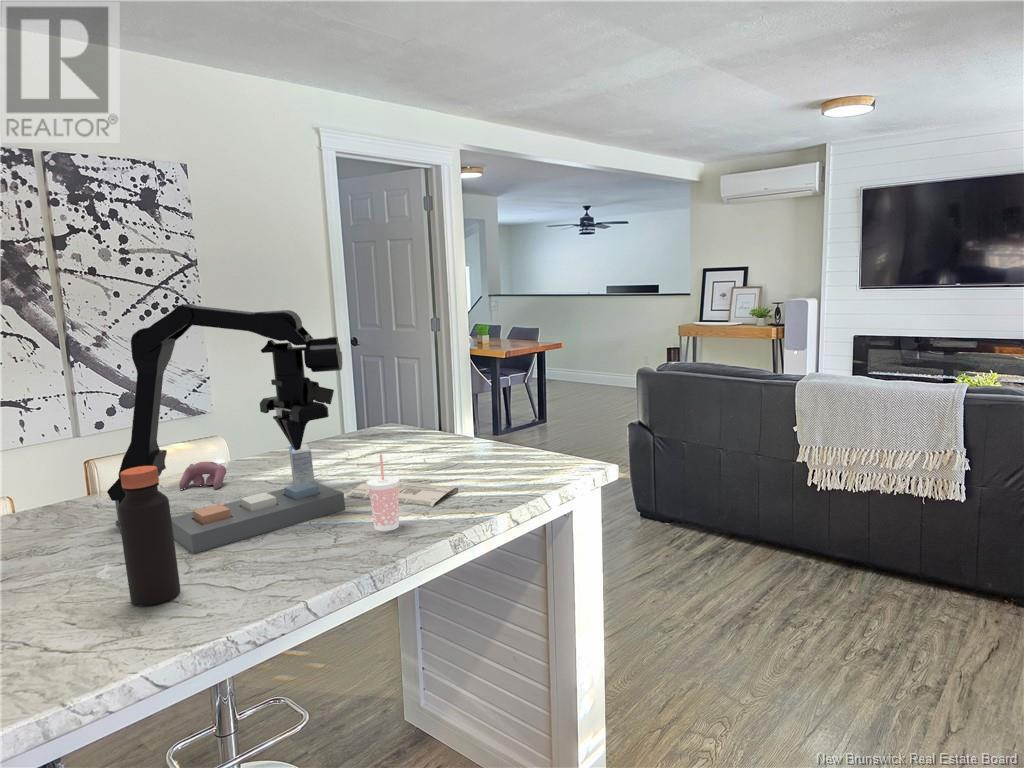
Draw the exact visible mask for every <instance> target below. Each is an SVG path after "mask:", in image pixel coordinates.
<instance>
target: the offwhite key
mask: <svg viewBox="0 0 1024 768" xmlns="http://www.w3.org/2000/svg"><path fill="white" fill-rule="evenodd" d="M268 493H269V492H266V491H264V492H261V493H257V494H253V495H248V496H246V497H242V498H240V500H241V507H242V508H243V509H245V510H247V511H249V512H253V511H257V510H261V509H264V508H268V507H272V506H276V505H277V503H276V497H274V496H272V495H270V494H268Z"/></svg>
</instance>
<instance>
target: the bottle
mask: <svg viewBox="0 0 1024 768" xmlns="http://www.w3.org/2000/svg"><path fill="white" fill-rule="evenodd" d="M120 477H121V484H122V488H123V491H125V494H126V496H125V498H124V499H123V500H122V502H121V503H120V504H119V506H118V515H119V522H120V526H119V528H120V535H121V536H120V537H121V541H122V548H123V555H124V563H125V570H126V576H127V584H128V591H129V599H130V601H131V603H132V605H135V606H137V607H151V606H152V607H153V606H157V605H160V604H163V603H164V604H165V603H166V602H168V601H171V600H173V599H174V598H176V597H177V596H178V595H179V594H180V591H181V583H180V573H179V570H178V569H179V568H178V559H177V552H176V543H175V540H174V536H173V529H172V521H171V518H172V514H171V513H172V512H171V506H170V500H169V498H168V496H167V495H166V494H164V493H162V492H161V491H160V490H159V488H158V486H159V485H160V483H159V482H160V476H158V469H157V467H156V466H139V467H134V468H130V469H126V470H124V471H122V472H121V473H120Z"/></svg>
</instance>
